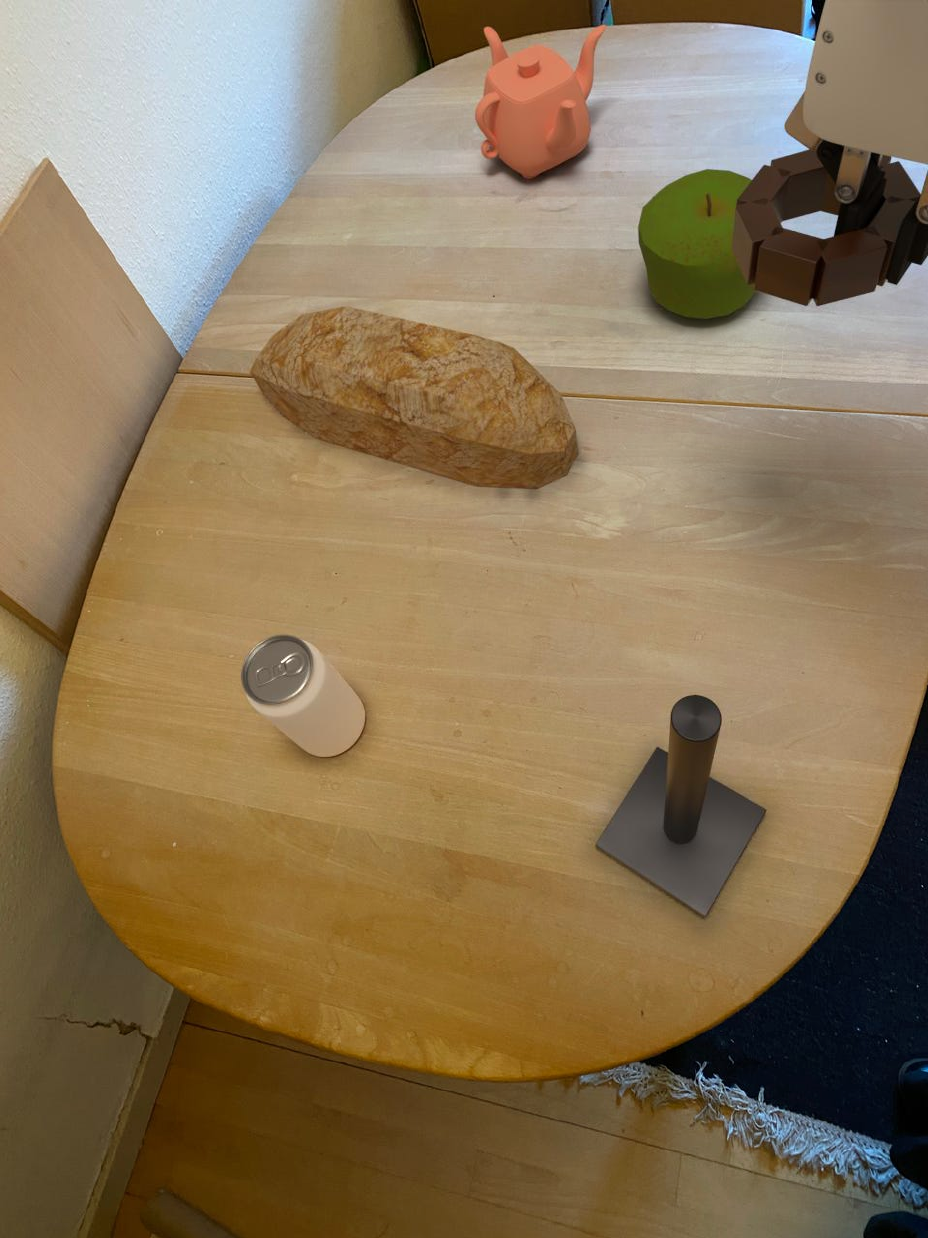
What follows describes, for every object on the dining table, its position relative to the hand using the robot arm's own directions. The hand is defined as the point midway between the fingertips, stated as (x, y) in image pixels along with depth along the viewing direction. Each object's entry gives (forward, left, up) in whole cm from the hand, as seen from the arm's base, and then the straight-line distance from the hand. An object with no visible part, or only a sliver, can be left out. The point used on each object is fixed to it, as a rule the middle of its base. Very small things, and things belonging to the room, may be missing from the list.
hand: (877, 257), depth 46 cm
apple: (+21, -21, -29) cm, 41 cm away
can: (+25, +36, -29) cm, 52 cm away
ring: (+3, 0, 0) cm, 3 cm away
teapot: (+49, -35, -29) cm, 67 cm away
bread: (+39, +6, -29) cm, 48 cm away
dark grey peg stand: (-4, +28, -28) cm, 40 cm away
